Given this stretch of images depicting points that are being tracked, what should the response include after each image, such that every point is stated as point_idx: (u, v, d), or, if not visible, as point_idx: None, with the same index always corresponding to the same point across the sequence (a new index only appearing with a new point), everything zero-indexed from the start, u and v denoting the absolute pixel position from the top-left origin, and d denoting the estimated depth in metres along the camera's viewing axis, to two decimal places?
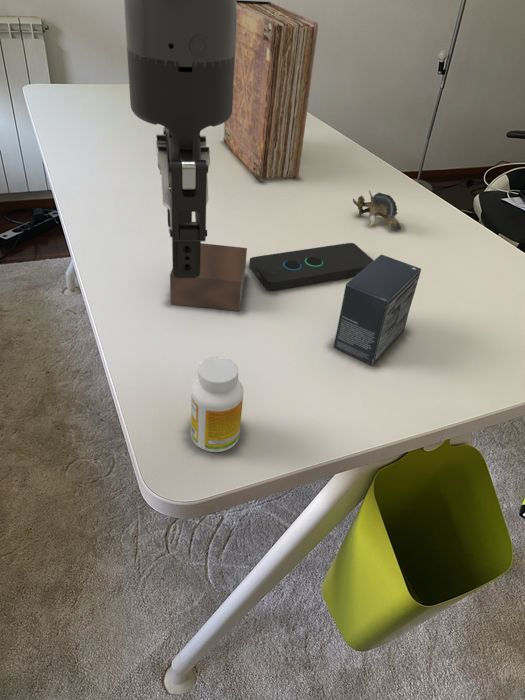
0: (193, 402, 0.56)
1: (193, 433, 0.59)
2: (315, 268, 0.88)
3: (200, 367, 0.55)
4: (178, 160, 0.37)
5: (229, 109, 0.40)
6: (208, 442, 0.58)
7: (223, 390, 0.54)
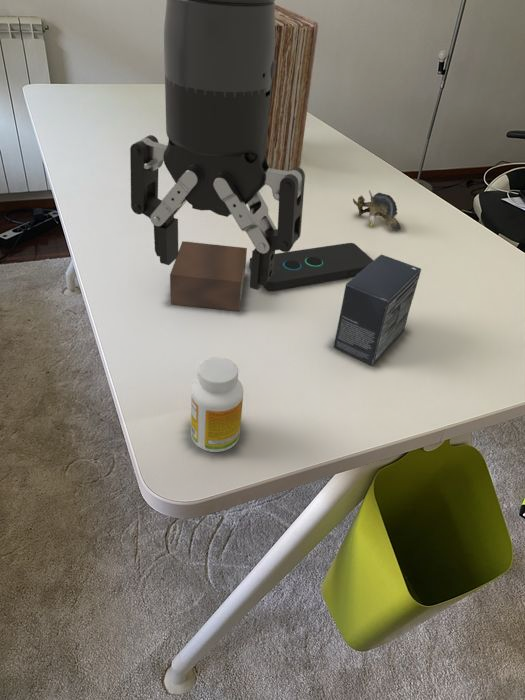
0: (193, 402, 0.56)
1: (193, 433, 0.59)
2: (315, 268, 0.88)
3: (200, 367, 0.55)
4: (291, 176, 0.40)
5: None
6: (208, 442, 0.58)
7: (223, 390, 0.54)
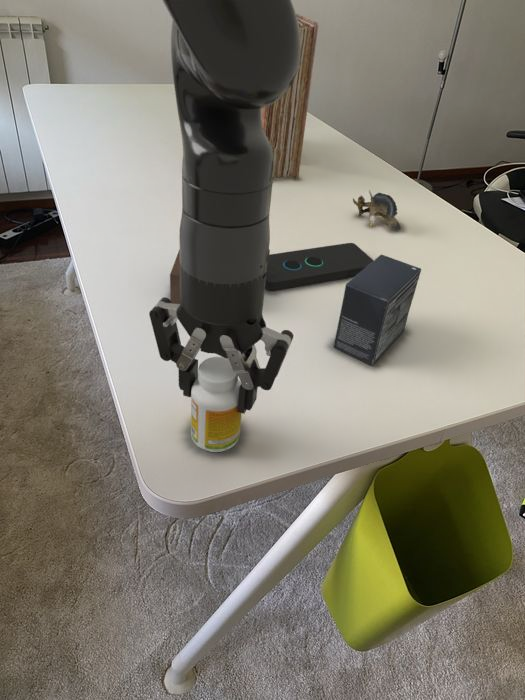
0: (193, 402, 0.56)
1: (193, 433, 0.59)
2: (315, 268, 0.88)
3: (200, 367, 0.55)
4: (284, 342, 0.49)
5: None
6: (208, 442, 0.58)
7: (223, 390, 0.54)
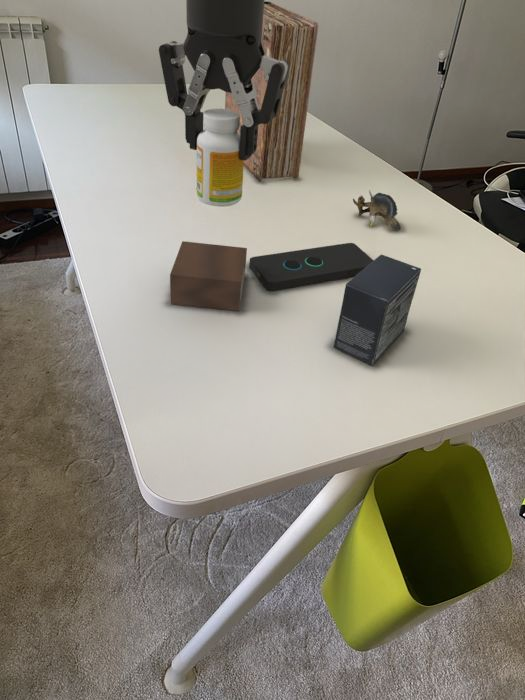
0: (198, 149, 0.61)
1: (198, 188, 0.64)
2: (315, 268, 0.88)
3: (205, 112, 0.60)
4: (281, 63, 0.54)
5: None
6: (212, 193, 0.63)
7: (226, 130, 0.59)
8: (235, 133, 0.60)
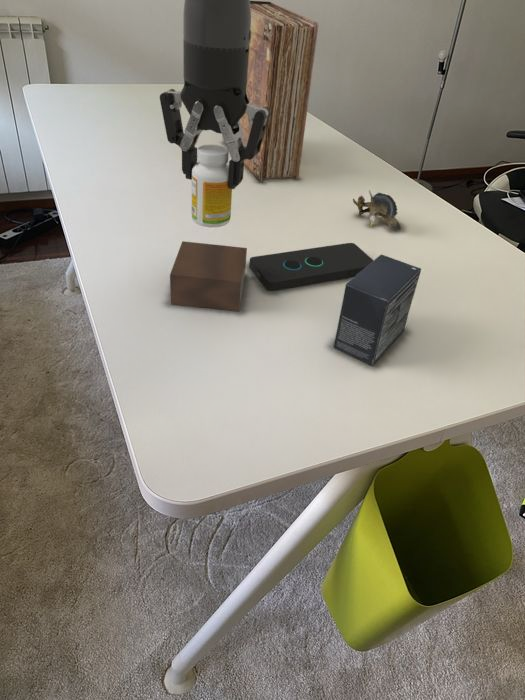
0: (193, 179, 0.71)
1: (193, 212, 0.74)
2: (315, 268, 0.88)
3: (199, 148, 0.70)
4: (262, 111, 0.65)
5: None
6: (205, 216, 0.73)
7: (217, 164, 0.70)
8: (224, 166, 0.71)
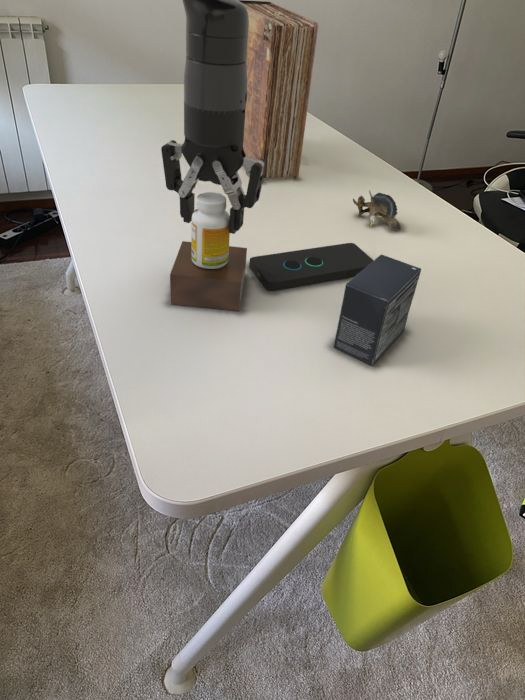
0: (193, 225, 0.76)
1: (193, 254, 0.78)
2: (315, 268, 0.88)
3: (198, 196, 0.74)
4: (258, 163, 0.69)
5: None
6: (204, 259, 0.77)
7: (215, 211, 0.74)
8: (222, 213, 0.75)
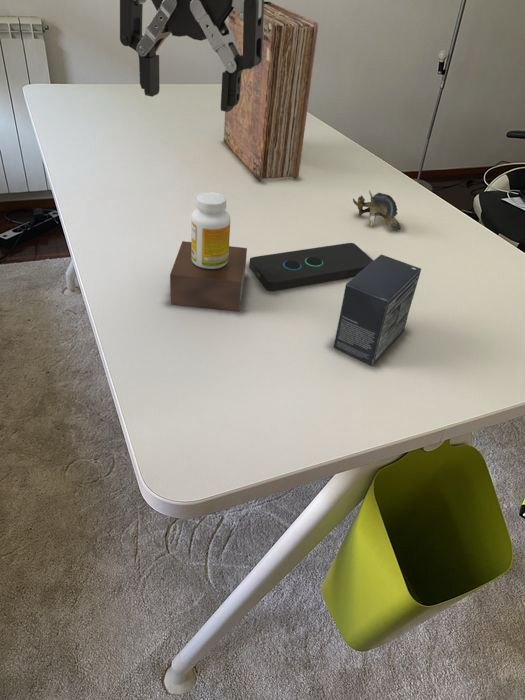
0: (193, 225, 0.75)
1: (193, 254, 0.78)
2: (315, 268, 0.88)
3: (198, 196, 0.74)
4: None
5: None
6: (204, 259, 0.77)
7: (215, 212, 0.74)
8: (222, 213, 0.75)
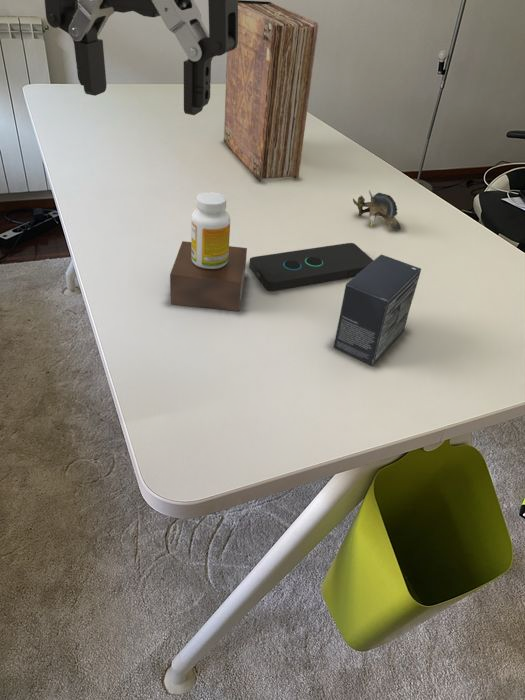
0: (193, 225, 0.75)
1: (193, 254, 0.78)
2: (315, 268, 0.88)
3: (198, 196, 0.74)
4: None
5: None
6: (204, 259, 0.77)
7: (215, 212, 0.74)
8: (222, 213, 0.75)
